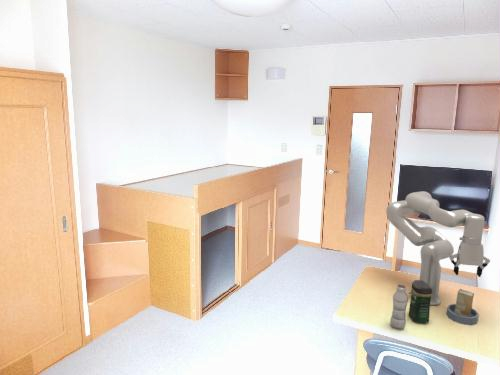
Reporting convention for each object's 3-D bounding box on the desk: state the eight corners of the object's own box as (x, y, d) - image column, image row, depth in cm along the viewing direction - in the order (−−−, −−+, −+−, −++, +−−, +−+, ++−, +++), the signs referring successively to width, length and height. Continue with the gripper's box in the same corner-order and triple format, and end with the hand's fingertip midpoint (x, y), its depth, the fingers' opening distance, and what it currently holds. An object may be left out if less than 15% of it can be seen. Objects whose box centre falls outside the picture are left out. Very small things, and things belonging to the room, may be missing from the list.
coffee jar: (431, 324, 177) (435, 287, 173) (414, 324, 177) (418, 287, 173) (422, 313, 186) (426, 278, 182) (406, 313, 186) (409, 278, 182)
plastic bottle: (387, 323, 178) (391, 283, 174) (401, 322, 178) (405, 283, 174) (393, 330, 172) (397, 290, 167) (408, 330, 172) (412, 289, 168)
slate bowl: (451, 323, 178) (452, 316, 178) (443, 309, 191) (444, 302, 190) (481, 326, 176) (482, 319, 175) (471, 311, 188) (472, 305, 188)
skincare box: (453, 314, 184) (456, 291, 181) (456, 311, 187) (459, 288, 184) (468, 319, 179) (471, 295, 177) (471, 316, 183) (474, 292, 180)
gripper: (454, 241, 173) (449, 276, 177) (496, 244, 170) (490, 280, 174) (449, 236, 181) (445, 269, 184) (489, 239, 177) (484, 273, 181)
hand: (467, 274), depth 179 cm, fingers open, 9 cm apart
